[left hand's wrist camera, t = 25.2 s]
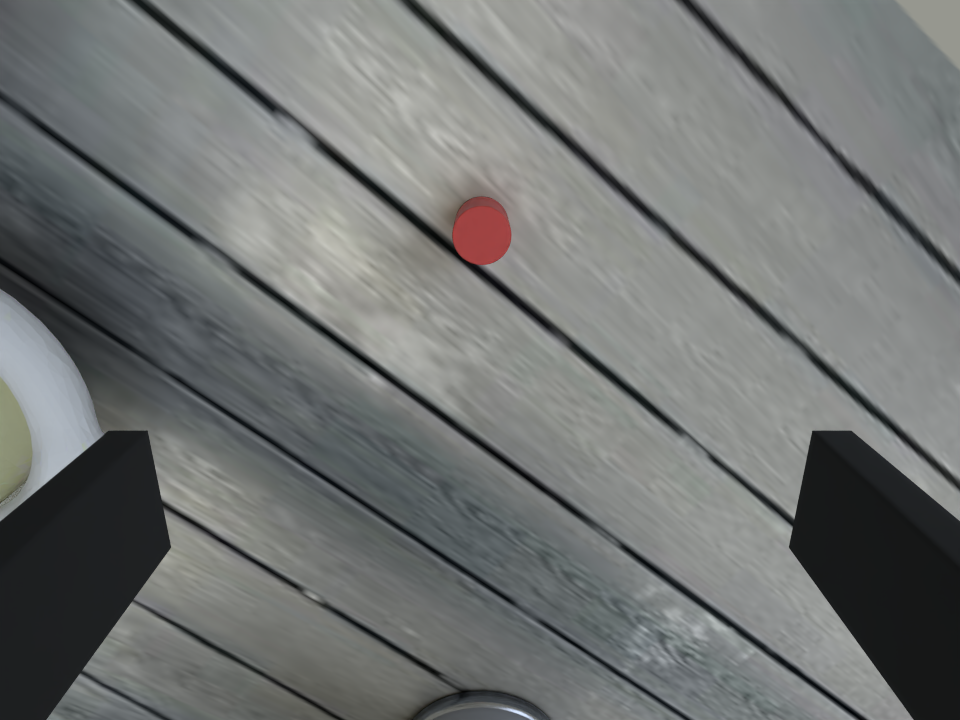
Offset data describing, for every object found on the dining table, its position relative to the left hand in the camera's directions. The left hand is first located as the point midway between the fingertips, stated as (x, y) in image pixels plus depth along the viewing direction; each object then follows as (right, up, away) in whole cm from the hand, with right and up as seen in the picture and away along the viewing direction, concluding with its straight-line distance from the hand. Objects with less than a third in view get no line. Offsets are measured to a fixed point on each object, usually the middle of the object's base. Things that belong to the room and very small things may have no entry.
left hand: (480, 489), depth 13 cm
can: (0, +12, +31) cm, 33 cm away
